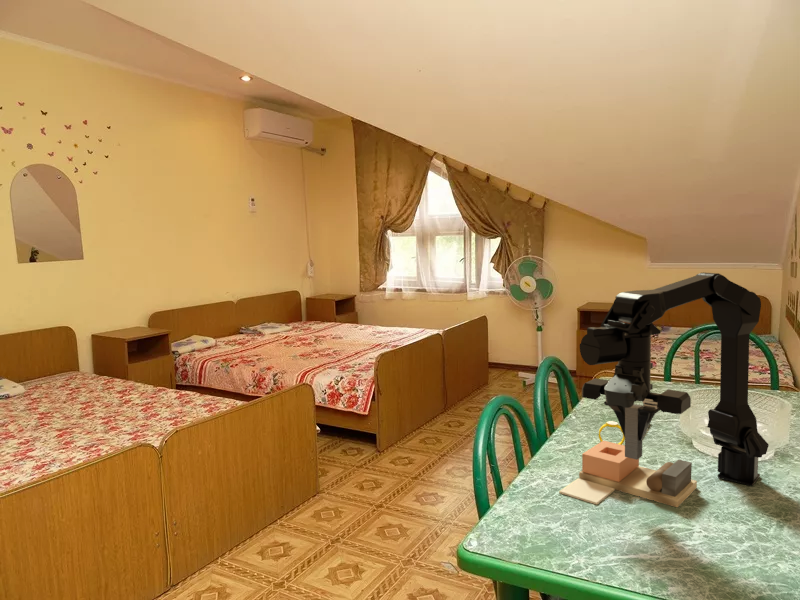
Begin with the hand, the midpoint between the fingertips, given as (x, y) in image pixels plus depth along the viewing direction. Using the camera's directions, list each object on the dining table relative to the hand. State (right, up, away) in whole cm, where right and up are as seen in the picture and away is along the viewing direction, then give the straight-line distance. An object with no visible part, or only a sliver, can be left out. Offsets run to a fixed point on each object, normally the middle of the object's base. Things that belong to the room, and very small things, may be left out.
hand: (633, 438), depth 112 cm
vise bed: (+4, -12, +10) cm, 16 cm away
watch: (+7, -9, +31) cm, 33 cm away
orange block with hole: (+1, -10, +13) cm, 16 cm away
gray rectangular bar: (0, -4, 0) cm, 4 cm away
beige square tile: (-7, -12, +7) cm, 16 cm away
